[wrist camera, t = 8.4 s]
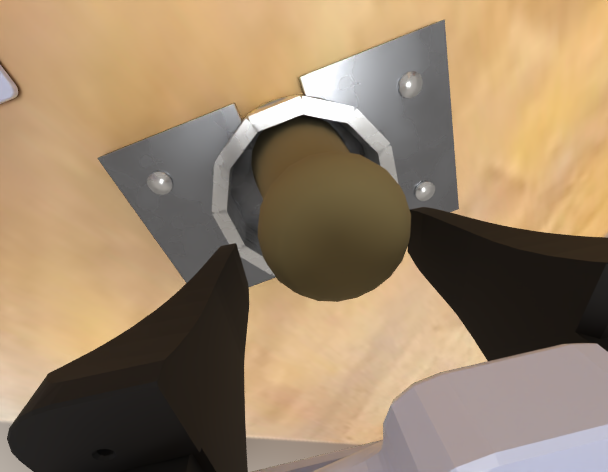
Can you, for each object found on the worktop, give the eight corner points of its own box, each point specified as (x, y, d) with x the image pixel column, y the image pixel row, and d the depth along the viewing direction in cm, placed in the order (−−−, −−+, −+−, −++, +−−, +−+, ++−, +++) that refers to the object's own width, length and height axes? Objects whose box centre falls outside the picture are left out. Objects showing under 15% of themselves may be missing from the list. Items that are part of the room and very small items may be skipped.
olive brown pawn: (354, 191, 19) (448, 295, 10) (271, 220, 20) (283, 351, 10) (332, 98, 17) (437, 115, 7) (235, 132, 17) (203, 196, 7)
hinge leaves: (203, 297, 23) (195, 331, 20) (104, 155, 17) (70, 170, 14) (452, 205, 22) (483, 224, 19) (436, 22, 16) (477, 7, 13)
